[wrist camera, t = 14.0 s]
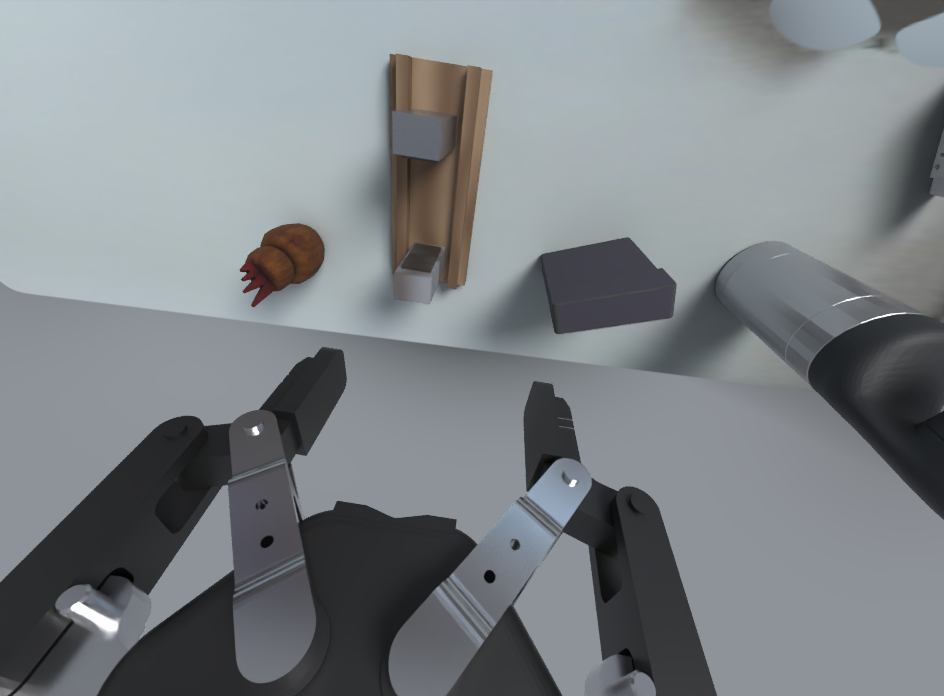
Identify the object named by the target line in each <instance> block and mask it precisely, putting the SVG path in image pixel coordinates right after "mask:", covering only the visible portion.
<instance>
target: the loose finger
mask: <svg viewBox="0 0 944 696" xmlns="http://www.w3.org/2000/svg"><path fill="white" fill-rule="evenodd" d="M457 116H458V115H452V114H446V113H440V112H433V111H427V110H421V109H416V110H399V111H392V128H393V154H398V155H402V158H408V159H414V160H421V161H427V162H433V163H438V162H439V161H441V160H442V159H443V158H444V157H445V156H447V155H448V154H449V153H450V152H451V151H452V150H454V149H455V140H456V128H457Z"/></svg>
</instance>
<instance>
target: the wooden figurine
mask: <svg viewBox="0 0 944 696" xmlns="http://www.w3.org/2000/svg"><path fill="white" fill-rule="evenodd" d="M260 246H261V247H260V248H257V249H255V250H254V251H253V252H251V253H250V254H249V255H248V257H247V260H246V262H245V264H244V265H243V266H242V268H241V269H240V271H241V272H246V273H247V274H246V275H245V276H244V277H243V278H242V279H241V280H242V281H246V280H251V281H252V282H251V283H250V284H249V285H248V286H247V287H246V288H245V289H244V290H243V293H246V292H249V291H251V290H254V289H256V288H258V287H260V290H259V292H258V293H257V295H256V297H255V299H254V301H253V303H252V304H251V306H252V307H255V306H256V305H257V304H258V303H260V302H261V301H262V300H263V299H264V298H266V297H267V296H268V295H269V294H270V293H272V292H273V291H280V290H282V289H283V288H285V287H286V286H288V285H289V284H299V283H302V282H304V281H306V280H307V279H309V278H311V277H312V276H313V275H314V274H315V273H316V272H317V271H318V270H319V268H320V266H321V265H322V263H323V260H324V250H325V248H324V244H323V241H322V239H321V237H320V236H319V235H318V233H317V232H316V231H315V230H314V229H312V228H311V227H309V226H307V225H303V224H299V223H298V224H287V225H282V226H279V227H276V228H274V229H272V230H270V231H268V232H267V233H266V234H265V235H264V237H263V239H262V242H261V245H260Z"/></svg>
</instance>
